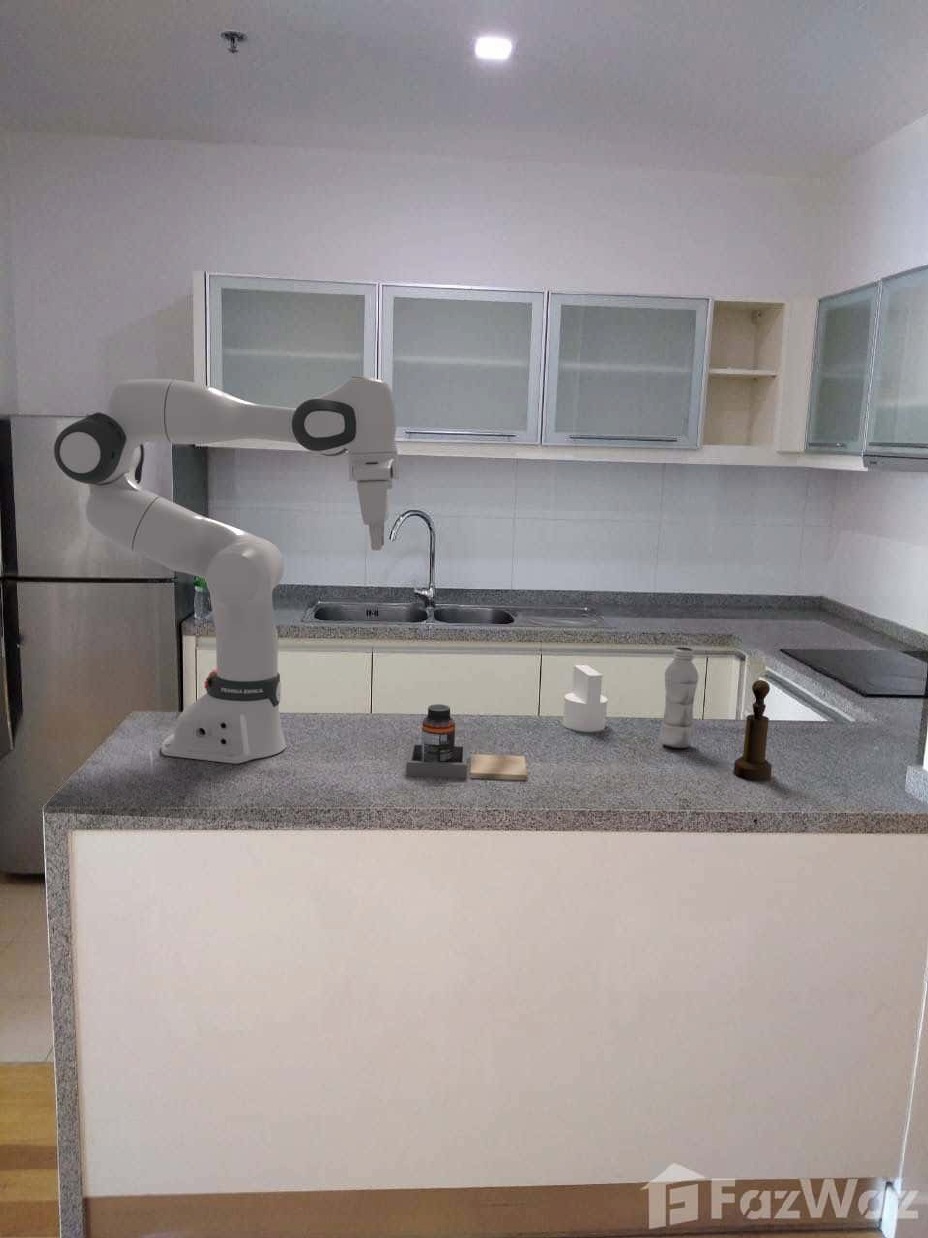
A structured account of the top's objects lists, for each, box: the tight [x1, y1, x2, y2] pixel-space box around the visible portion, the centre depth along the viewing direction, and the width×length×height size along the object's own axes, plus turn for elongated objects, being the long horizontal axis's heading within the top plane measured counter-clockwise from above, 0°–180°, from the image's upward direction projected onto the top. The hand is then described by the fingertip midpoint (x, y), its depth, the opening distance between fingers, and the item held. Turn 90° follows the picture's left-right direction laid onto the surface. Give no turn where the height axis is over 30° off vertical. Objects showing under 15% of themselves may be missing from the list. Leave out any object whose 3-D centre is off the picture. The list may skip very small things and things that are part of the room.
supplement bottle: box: [420, 703, 456, 763], centre depth 173 cm, size 6×6×11 cm
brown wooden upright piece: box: [733, 679, 773, 782], centre depth 175 cm, size 7×6×18 cm
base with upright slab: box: [562, 664, 608, 733], centre depth 202 cm, size 9×9×12 cm
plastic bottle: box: [659, 646, 699, 749], centre depth 189 cm, size 6×7×20 cm
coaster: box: [469, 753, 528, 781], centre depth 173 cm, size 10×10×1 cm
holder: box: [405, 742, 468, 779], centre depth 173 cm, size 11×11×2 cm
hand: (378, 548), depth 172 cm, fingers open, 8 cm apart
